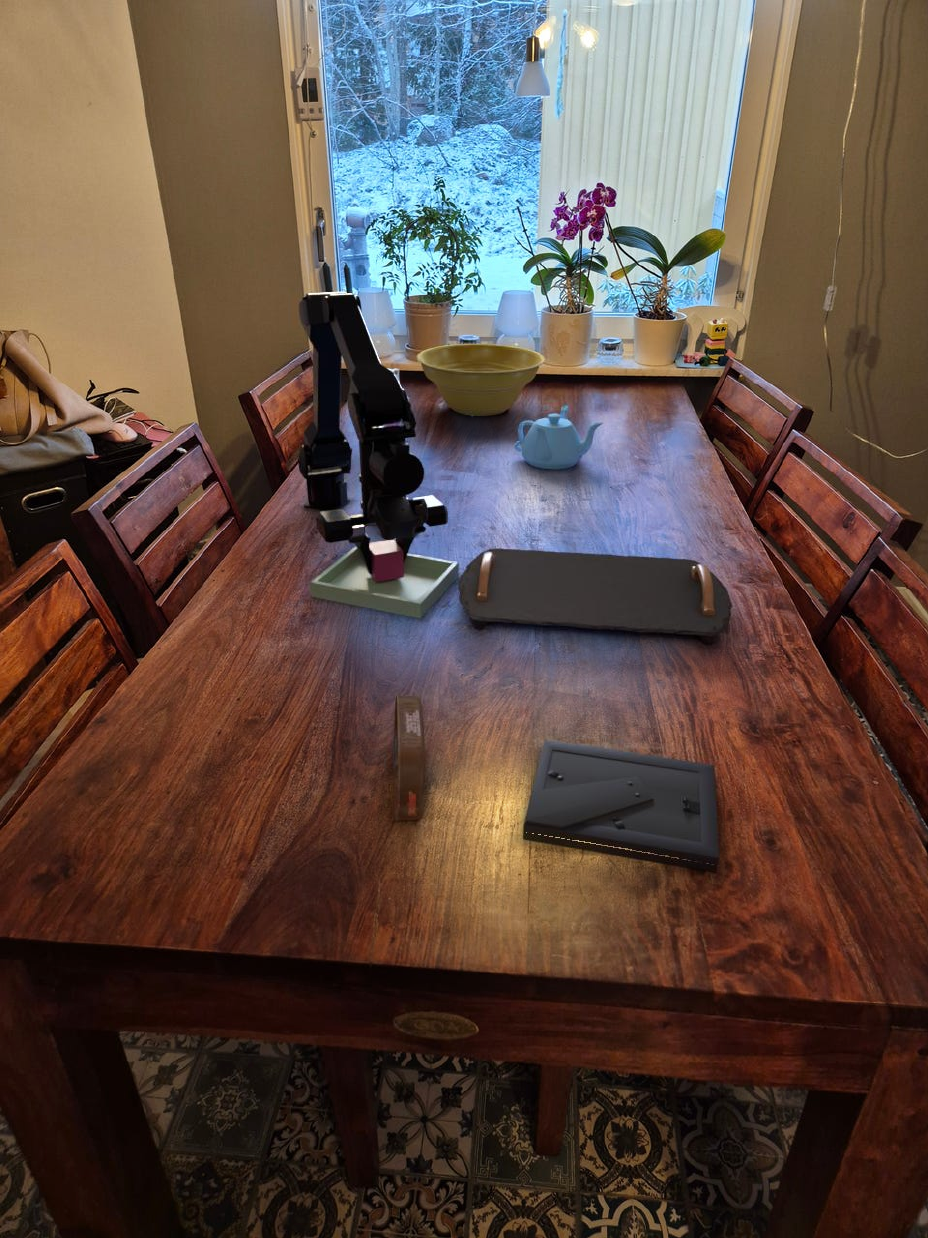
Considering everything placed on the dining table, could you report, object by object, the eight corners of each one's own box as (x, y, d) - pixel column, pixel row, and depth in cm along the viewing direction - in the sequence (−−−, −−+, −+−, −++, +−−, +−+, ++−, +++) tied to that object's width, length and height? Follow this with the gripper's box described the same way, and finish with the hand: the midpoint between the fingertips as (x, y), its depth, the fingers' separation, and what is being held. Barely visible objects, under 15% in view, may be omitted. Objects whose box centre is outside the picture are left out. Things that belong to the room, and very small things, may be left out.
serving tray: (714, 577, 127) (721, 540, 124) (741, 655, 107) (749, 613, 104) (467, 562, 131) (468, 526, 128) (448, 635, 111) (448, 594, 108)
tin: (393, 742, 90) (390, 678, 86) (421, 740, 90) (420, 677, 86) (394, 840, 77) (391, 771, 73) (427, 839, 77) (426, 769, 73)
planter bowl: (546, 427, 197) (549, 371, 191) (413, 426, 198) (412, 369, 191) (537, 394, 225) (540, 344, 219) (421, 392, 226) (420, 342, 219)
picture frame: (522, 839, 77) (716, 873, 74) (523, 822, 76) (720, 855, 73) (543, 753, 89) (711, 779, 85) (544, 736, 88) (715, 762, 84)
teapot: (506, 455, 179) (507, 408, 173) (567, 447, 183) (570, 402, 178) (536, 477, 167) (538, 427, 162) (600, 468, 172) (604, 419, 167)
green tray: (311, 596, 120) (309, 582, 119) (357, 557, 132) (356, 544, 131) (420, 618, 115) (420, 603, 113) (458, 576, 126) (458, 562, 125)
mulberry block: (375, 582, 122) (374, 555, 119) (366, 570, 125) (365, 543, 123) (404, 577, 123) (403, 550, 121) (394, 565, 127) (393, 538, 125)
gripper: (332, 500, 107) (340, 605, 114) (463, 481, 113) (462, 581, 121) (310, 473, 115) (319, 572, 123) (433, 457, 122) (434, 552, 130)
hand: (384, 570), depth 124 cm, fingers closed on mulberry block, 4 cm apart
